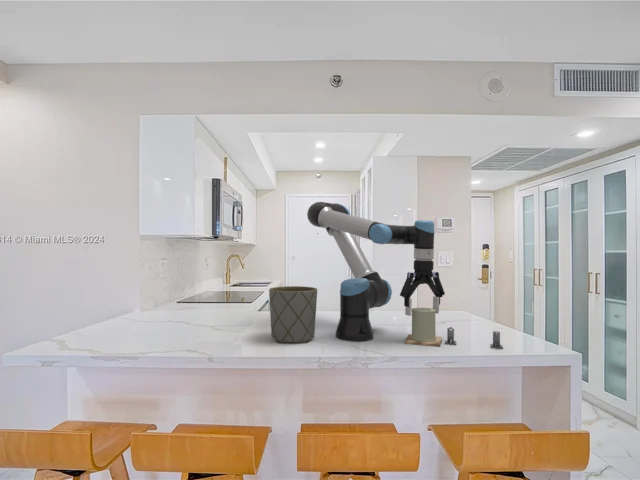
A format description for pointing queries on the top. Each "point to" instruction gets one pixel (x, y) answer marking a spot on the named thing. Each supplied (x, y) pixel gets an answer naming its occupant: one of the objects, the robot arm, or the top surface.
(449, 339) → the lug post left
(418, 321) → the can
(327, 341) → the top surface
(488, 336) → the top surface
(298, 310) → the planter
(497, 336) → the lug post right
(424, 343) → the tan flat square board
